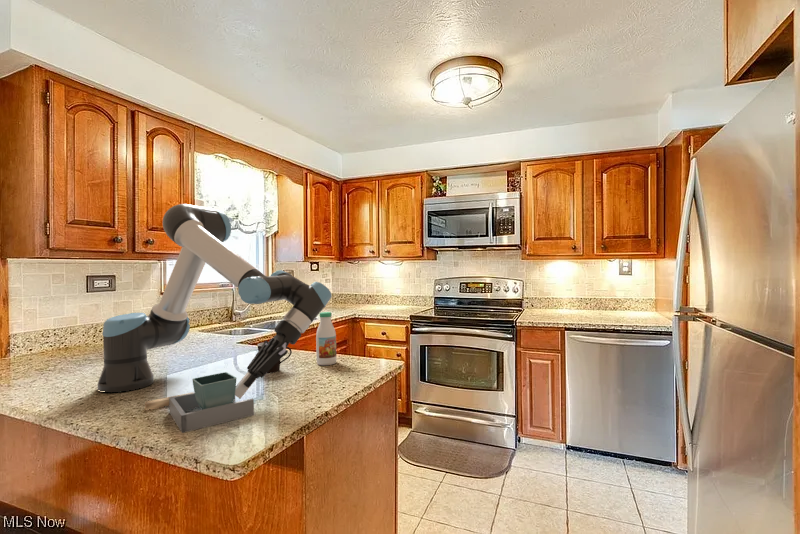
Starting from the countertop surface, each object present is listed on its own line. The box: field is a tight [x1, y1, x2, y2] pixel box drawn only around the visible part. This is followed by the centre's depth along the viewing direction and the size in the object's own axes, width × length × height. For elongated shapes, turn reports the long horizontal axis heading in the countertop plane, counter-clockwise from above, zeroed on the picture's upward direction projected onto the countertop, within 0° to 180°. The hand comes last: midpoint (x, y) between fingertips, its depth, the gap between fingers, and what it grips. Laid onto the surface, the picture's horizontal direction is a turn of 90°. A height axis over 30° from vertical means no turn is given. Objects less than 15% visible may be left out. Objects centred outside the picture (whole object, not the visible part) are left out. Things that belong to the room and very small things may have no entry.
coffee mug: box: [257, 342, 293, 374], centre depth 144 cm, size 12×9×10 cm
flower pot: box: [192, 371, 237, 410], centre depth 104 cm, size 9×9×9 cm
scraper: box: [144, 391, 195, 411], centre depth 112 cm, size 15×8×2 cm, turn 129°
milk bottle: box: [315, 311, 338, 366], centre depth 154 cm, size 8×8×20 cm
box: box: [168, 392, 255, 434], centre depth 103 cm, size 16×17×4 cm
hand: (235, 395), depth 106 cm, fingers closed
